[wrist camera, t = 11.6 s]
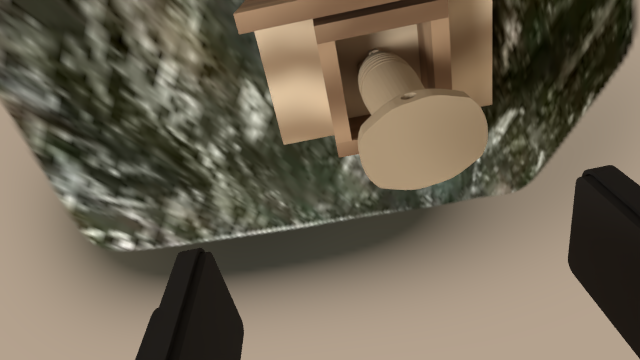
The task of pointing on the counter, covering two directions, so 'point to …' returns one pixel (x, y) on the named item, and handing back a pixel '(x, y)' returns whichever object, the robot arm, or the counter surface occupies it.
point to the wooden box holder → (362, 55)
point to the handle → (414, 126)
